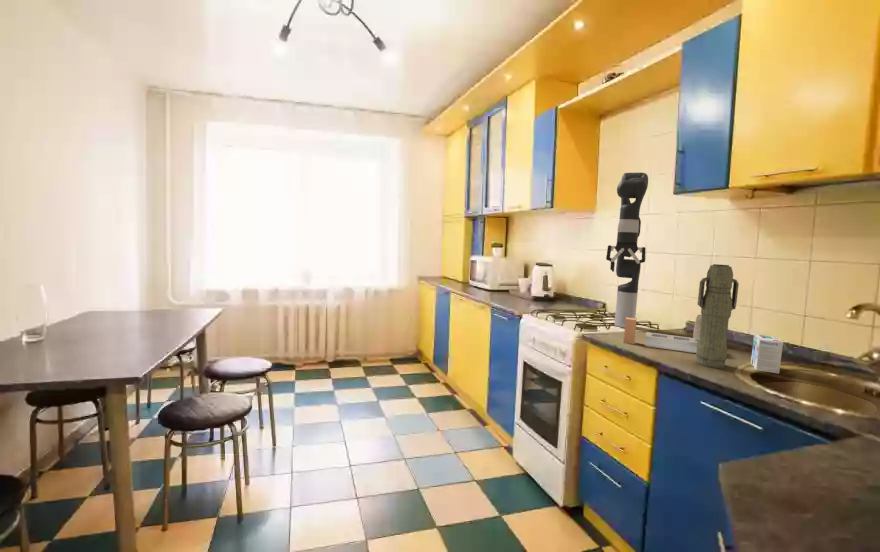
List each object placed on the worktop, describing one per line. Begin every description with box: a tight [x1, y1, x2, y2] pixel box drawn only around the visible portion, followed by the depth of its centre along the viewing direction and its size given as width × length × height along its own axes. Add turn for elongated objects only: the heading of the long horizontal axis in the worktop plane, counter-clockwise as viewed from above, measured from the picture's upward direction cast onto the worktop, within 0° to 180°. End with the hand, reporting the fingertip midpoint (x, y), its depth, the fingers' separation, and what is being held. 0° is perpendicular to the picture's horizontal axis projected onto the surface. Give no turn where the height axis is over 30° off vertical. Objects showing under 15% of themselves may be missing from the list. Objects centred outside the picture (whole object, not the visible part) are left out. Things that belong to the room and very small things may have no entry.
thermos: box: [695, 263, 739, 369], centre depth 153 cm, size 9×12×35 cm
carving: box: [692, 314, 702, 339], centre depth 188 cm, size 6×8×12 cm
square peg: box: [623, 317, 638, 345], centre depth 182 cm, size 4×4×10 cm
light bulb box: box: [750, 334, 784, 374], centre depth 153 cm, size 11×7×11 cm, turn 154°
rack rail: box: [644, 331, 700, 354], centre depth 176 cm, size 10×26×4 cm, turn 64°
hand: (624, 272), depth 176 cm, fingers open, 8 cm apart
